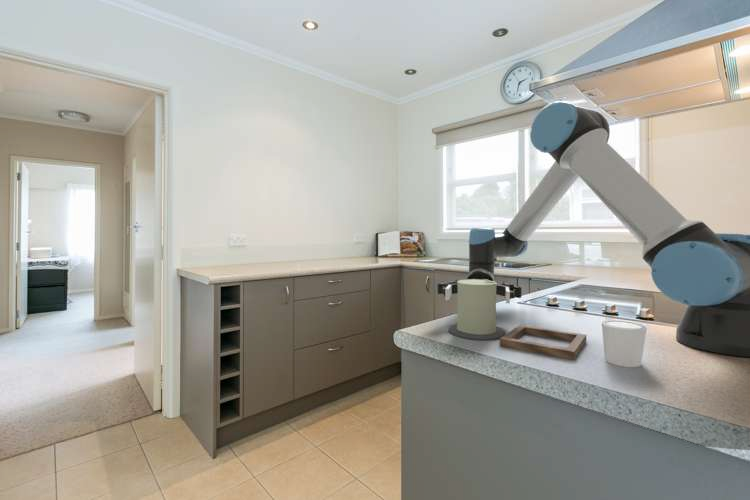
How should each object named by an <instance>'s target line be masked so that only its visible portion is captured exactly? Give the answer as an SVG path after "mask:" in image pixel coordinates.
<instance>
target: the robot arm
mask: <svg viewBox="0 0 750 500" xmlns="http://www.w3.org/2000/svg"><path fill="white" fill-rule="evenodd" d="M530 128H531V129H530V132H529V133H530V134H529V135H530V136H529V137H530V142H531V144H532V146H533V147H534V148H535V149H536V150H538V151H540V152H541V153H545V154H547V153H548V154H549V155H550V156H551V157H552V158H553V160H554V162H553V164H552V166H551V167H550V168H549V169H548V170H547V172H546V173H545V175H544V176H543V178H541V180H540V182H539V183H538V185H537V186H536V187H535V189H534V190H533V191H532V193H531V194H530V195H529V196H528V198H527V199H526V201H525V202H524V203H523V205H522V206H521V208H520V209H519V210H518V212H517V213H516V214H515V216H514V217H513V219H512V220H511V221H510V222H509V224H508V225H507V227H506V228H505V229H504V230H503V232H502V233H496V232H495V231H496V230H495V229H494V228H493V227H491V228H490V227H487V228H485V227H484V228H483V227H482V228H481V227H476V228H471V229H470V231H469V234H468V235H469V237H468V239H469V240H468V246H469V247H468V252H469V253H468V255H469V257H468V261H469V262H468V276H467V278H466V280H467V279H479V280H490V281H495V258H496V259H497V258H516V257H517V256H521V255H523V254H525V253H526V251H527V250H528V245H529V243H528V240H529V239H530V238H531V236H532V235H533V234H534V233H535V231H536V230H537V229H538V228H539V226H540V225H541V224H542V223H543V221H544V220H545V219H546V218H547V217H548V215H550V213H551V211H552V210H553V209H554V208H555V207H556V206H557V204H558V203H559V202H560V200H562V198H564V196H565V194H566V193H567V192H568V190H570V188H571V187H572V186H573V185H574V183H575V182H576V181H577V180H578V178H580V179H581V180H582V181H583V182H584V183H585V184H586V185H587V187H588V188H589V189H590V190H591V191H592V193H594V194H595V195H596V197H597V198H599V200H600V201H601V202H602V203H603V204H604V205H605V207H606V208H607V209H609V210H610V212H611V213H612V214H613V215H614V216H615V218H617V219H618V220H619V222H621V224H622V225H623V226H624V227H625V228H626V229H627V230H628V231H629V233H630V234H632V236H633V237H634V238H635V239H636V240H637V241H638V242H639V244H641V246H642V252H641V258H642V260H643V261H644V262H645V263H646V264H647V265H648V266H649V267H650V269H651V273H650V274H651V278H652V281H653V283H654V284H655V286H656V288H657V289H658V290H659V291H660V292H661V293H662V294H663V295H664V296H665V297H667V298H669V299H670V300H672V301H674V302H677V303H681V304H683V305H686V309H685V310H684V312H683V314H682V317H681V319H680V321H679V323H678V325H677V327H676V330H675V331H676V332H675V334H676V335H675V339H676V341H678V342H679V343H681V344H682V345H685V346H688V347H691V348H694V349H698V350H702V351H706V352H711V353H716V354H721V355H727V356H728V355H729V356H733V357H734V356H736V357H744V358H750V234H741V233H727V232H726V233H723V232H722V233H721V232H720V233H719V232H715V231H713V230H712V229H711V228H710V227H708V225H706V223H704V221H701V220H691V219H690V220H689V219H687V218H686V217H685V216H683V214H681V213H680V211H678V210H677V209H676V208H675V206H673V205H672V204H671V202H669V201H668V200H667V199H666V198H665V197H664V196H663V195H662V194H661V193H660V192H659V191H658V190H657V189H656V188H655V187H654V186H653V185H651V184H650V183H649V181H647V180H646V179H645V178H644V177H643V176H642V175H641V174H640V173H639V172H638V171H637V170H636V169H635V168H634V167H633V166H632V165H631V164H630V163H629V162H628V161H627V160H626V159H624V158H623V156H622V155H620V154H619V152H617V151H616V149H614V148H613V147H612V146H611V145H610V144H609V140H610V133H611V132H610V124H609V122H608V120H607V119H606V117H605V116H604V115H603V114H602V113H600V112H599V111H596V110H593V109H589V108H585V107H582V106H579V105H577V104H574V103H572V102H570V101H561V100H560V101H554V102H551V103H549V104H547V105H545V106H544V107H543V108H542V109H541V110H540V111H539V112H538V113H537V115H536V116H535V117H534V119H533V122H532V124H531V127H530ZM457 281H459V279H453V280H451V281H446V282H441V283H437V294H438V295H443V297H444V298H445V299H444V300H445V301H449V300H450V299H451V297H452V295H454V294H458V284H457ZM497 295H498V296H502V297H504V298H505V303H506V304H511V299H515V298H518V299H520V298H522V287H521V286H518V285H515V284H514V283H513V284H512V283H508V282H506V281H502V282H499V283H497V286H496V296H497Z"/></svg>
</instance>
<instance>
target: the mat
mask: <svg viewBox="0 0 750 500" xmlns="http://www.w3.org/2000/svg"><path fill="white" fill-rule="evenodd" d="M448 329H449V334H451V335H453V336H455V337H458V338H461V339H464V340H465V339H467V340H474V341H494V340H500V338H501V337H503V336H504V335H506V334H507V333H506V330H505V329H504V328H503V327H499V326H497V325H496V332H495V333H493V334H488V335H474V334H467V333H463V332H461V331H459V330H457V323H456V324H452V325H450V326H449V328H448Z"/></svg>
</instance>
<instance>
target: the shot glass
mask: <svg viewBox="0 0 750 500" xmlns="http://www.w3.org/2000/svg"><path fill="white" fill-rule="evenodd" d="M601 328H602V340H603V341H602V342H603V353H604V354H603V355H604V356H603V357H604V360H605V362H607V363H610V364H612V365H616V366H620V367H625V368H638V367H641V366H642V360H643V355H644V347H645V342H646V341H645V340H646V335H647V328H648V327H647V326H645V325H643V324H640V323H636V322H631V321H624V320H604V321H602V322H601Z"/></svg>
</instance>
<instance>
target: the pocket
mask: <svg viewBox="0 0 750 500" xmlns="http://www.w3.org/2000/svg"><path fill="white" fill-rule="evenodd" d="M524 335H529V336H537V337H543V338H548V339H549V338H550V339H555V340H561V341H567V342H570V343H569V345H568V346H567V347H563V346H557V345H551V344H546V343H540V342H532V341H528V340H523V339H520V338H521V337H522V336H524ZM586 343H587V334H583V333H579V332H571V331H564V330H558V329H552V328H546V327H537V326H531V325H525V324H519V325H518V326H516V327H514V328H513V329H512V330H510V331H509V332H507V333H506V335H504V336H503V337H501V338H500V339H499V346H500V347H504V348H509V349H514V350H520V351H524V352H529V353H535V354H540V355H545V356H549V357H550V356H552V357H556V358H561V359H566V360H570V361H571V360H572V361H575V359H576V358H577V357H578V355H579V353H580V352H581V350H582V349H583V347H584V346H585V344H586Z"/></svg>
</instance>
